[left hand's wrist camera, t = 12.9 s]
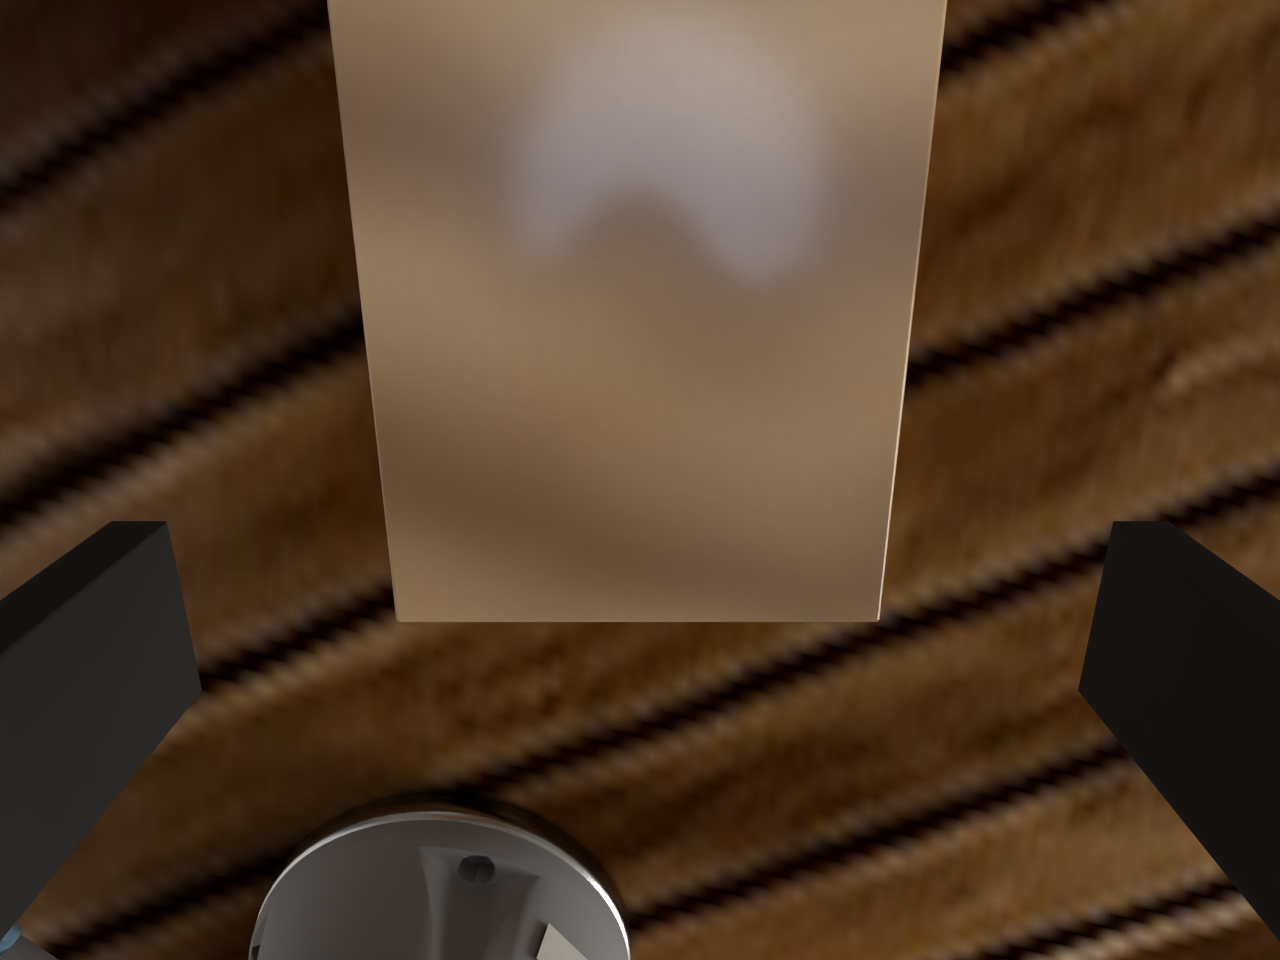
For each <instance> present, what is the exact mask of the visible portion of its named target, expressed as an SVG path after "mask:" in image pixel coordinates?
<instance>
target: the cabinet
mask: <svg viewBox="0 0 1280 960" xmlns="http://www.w3.org/2000/svg"><path fill="white" fill-rule="evenodd" d="M327 4H328V13H329V22H330V31H331V40H332V49H333V58H334V67H335V76H336V85H337V94H338V103H339V112H340V120H341V129H342V138H343V147H344V156H345V165H346V174H347V183H348V192H349V201H350V210H351V219H352V228H353V237H354V245H355V254H356V263H357V272H358V281H359V290H360V299H361V308H362V317H363V326H364V335H365V344H366V353H367V362H368V370H369V379H370V388H371V397H372V406H373V415H374V424H375V433H376V442H377V451H378V460H379V469H380V478H381V487H382V495H383V504H384V513H385V522H386V531H387V540H388V549H389V558H390V567H391V576H392V585H393V594H394V603H395V612H396V619H397V621H399V622H877V621H878V620H879V618H880V610H881V601H882V592H883V582H884V573H885V564H886V555H887V546H888V537H889V528H890V518H891V509H892V500H893V491H894V482H895V473H896V464H897V454H898V445H899V436H900V427H901V418H902V409H903V400H904V391H905V381H906V372H907V363H908V354H909V345H910V336H911V327H912V317H913V308H914V299H915V290H916V281H917V272H918V263H919V253H920V244H921V235H922V226H923V217H924V208H925V199H926V190H927V180H928V171H929V162H930V153H931V144H932V135H933V126H934V116H935V107H936V98H937V89H938V80H939V71H940V62H941V52H942V43H943V34H944V25H945V16H946V7H947V0H327Z"/></svg>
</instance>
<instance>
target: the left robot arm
mask: <svg viewBox="0 0 1280 960" xmlns="http://www.w3.org/2000/svg"><path fill="white" fill-rule="evenodd" d="M201 691H202V689H201V684H200V679H199V674H198V670H197V665H196V660H195V655H194V650H193V646H192V641H191V636H190V631H189V626H188V622H187V617H186V612H185V607H184V603H183V598H182V593H181V588H180V583H179V579H178V574H177V569H176V564H175V559H174V555H173V550H172V545H171V540H170V535H169V531H168V526H167V521H111V522H110V523H108V524H107V525H106V526H104V527H103V528H101V529H100V530H99V531H97V532H96V533H94V534H93V535H92V536H90V537H89V538H87V539H86V540H85V541H83V542H82V543H80V544H79V545H78V546H76V547H75V548H73V549H72V550H71V551H69V552H68V553H66V554H65V555H64V556H62V557H61V558H59V559H58V560H57V561H55V562H54V563H52V564H51V565H50V566H48V567H47V568H45V569H44V570H43V571H41V572H40V573H38V574H37V575H35V576H34V577H33V578H31V579H30V580H28V581H27V582H26V583H24V584H23V585H21V586H20V587H19V588H17V589H16V590H14V591H13V592H12V593H10V594H9V595H7V596H6V597H5V598H3V599H2V600H0V960H58V959H57V958H55V957H54V956H52V955H51V954H49V953H48V952H46V951H45V950H43V949H42V948H40V947H39V946H37V945H35V944H34V943H32V942H31V941H29V940H28V939H26V938H25V937H23V936H22V935H20V934H21V931H22V928H21V927H20V926H19V925H18V924H17V923H16V921H17V920H18V919H19V917H20V916H21V915H22V914H23V912H24V911H25V910H26V909H27V908H28V906H29V905H30V904H31V903H32V901H33V900H34V899H35V898H36V896H37V895H38V894H39V893H40V891H41V890H42V889H43V888H44V886H45V885H46V884H47V883H48V881H49V880H50V879H51V878H52V876H53V875H54V874H55V873H56V871H57V870H58V869H59V868H60V866H61V865H62V864H63V863H64V861H65V860H66V859H67V858H68V856H69V855H70V854H71V853H72V851H73V850H74V849H75V848H76V846H77V845H78V844H79V843H80V841H81V840H82V839H83V838H84V837H85V835H86V834H87V833H88V832H89V830H90V829H91V828H92V827H93V825H94V824H95V823H96V822H97V820H98V819H99V818H100V817H101V815H102V814H103V813H104V812H105V810H106V809H107V808H108V807H109V805H110V804H111V803H112V802H113V800H114V799H115V798H116V797H117V795H118V794H119V793H120V792H121V790H122V789H123V788H124V787H125V785H126V784H127V783H128V782H129V780H130V779H131V778H132V777H133V775H134V774H135V773H136V772H137V771H138V769H139V768H140V767H141V766H142V764H143V763H144V762H145V761H146V759H147V758H148V757H149V756H150V754H151V753H152V752H153V751H154V749H155V748H156V747H157V746H158V744H159V743H160V742H161V741H162V739H163V738H164V737H165V736H166V734H167V733H168V732H169V731H170V729H171V728H172V727H173V726H174V724H175V723H176V722H177V721H178V719H179V718H180V717H181V716H182V714H183V713H184V712H185V711H186V709H187V708H188V707H189V706H190V704H191V703H192V702H193V701H194V700H195V698H196V697H197V696H198V695H199V693H200V692H201ZM1078 691H1079V692H1080V693H1081V695H1082V696H1083V697H1084V698H1085V700H1086V701H1087V702H1088V703H1089V704H1090V706H1091V707H1092V708H1093V709H1094V711H1095V712H1096V713H1097V714H1098V716H1099V717H1100V718H1101V719H1102V721H1103V722H1104V723H1105V724H1106V726H1107V727H1108V728H1109V729H1110V731H1111V732H1112V733H1113V734H1114V736H1115V737H1116V738H1117V739H1118V741H1119V742H1120V743H1121V744H1122V746H1123V747H1124V748H1125V749H1126V751H1127V752H1128V753H1129V754H1130V756H1131V757H1132V758H1133V759H1134V761H1135V762H1136V763H1137V764H1138V766H1139V767H1140V768H1141V769H1142V771H1143V772H1144V773H1145V774H1146V775H1147V777H1148V778H1149V779H1150V780H1151V782H1152V783H1153V784H1154V785H1155V787H1156V788H1157V789H1158V790H1159V792H1160V793H1161V794H1162V795H1163V797H1164V798H1165V799H1166V800H1167V802H1168V803H1169V804H1170V805H1171V807H1172V808H1173V809H1174V810H1175V812H1176V813H1177V814H1178V815H1179V817H1180V818H1181V819H1182V820H1183V822H1184V823H1185V824H1186V825H1187V827H1188V828H1189V829H1190V830H1191V832H1192V833H1193V834H1194V835H1195V837H1196V838H1197V839H1198V840H1199V842H1200V843H1201V844H1202V845H1203V846H1204V848H1205V849H1206V850H1207V851H1208V853H1209V854H1210V855H1211V856H1212V858H1213V859H1214V860H1215V861H1216V863H1217V864H1218V865H1219V866H1220V868H1221V869H1222V870H1223V871H1224V873H1225V874H1226V875H1227V876H1228V878H1229V879H1230V880H1231V881H1232V883H1233V884H1234V885H1235V886H1236V888H1237V889H1238V890H1239V891H1240V893H1241V894H1242V895H1243V896H1244V898H1245V899H1246V900H1247V901H1248V903H1249V904H1250V905H1251V906H1252V908H1253V909H1254V910H1255V911H1256V912H1257V914H1258V915H1259V916H1260V917H1261V919H1262V920H1263V921H1264V922H1265V924H1266V925H1267V926H1268V927H1269V929H1270V930H1271V931H1272V932H1273V934H1274V935H1275V936H1276V937H1277V939H1278V940H1279V941H1280V600H1278V599H1277V598H1275V597H1274V596H1273V595H1271V594H1270V593H1268V592H1267V591H1266V590H1264V589H1263V588H1261V587H1260V586H1259V585H1257V584H1256V583H1254V582H1253V581H1252V580H1250V579H1249V578H1247V577H1246V576H1245V575H1243V574H1242V573H1240V572H1239V571H1237V570H1236V569H1235V568H1233V567H1232V566H1230V565H1229V564H1228V563H1226V562H1225V561H1223V560H1222V559H1221V558H1219V557H1218V556H1216V555H1215V554H1214V553H1212V552H1211V551H1209V550H1208V549H1207V548H1205V547H1204V546H1202V545H1201V544H1200V543H1198V542H1197V541H1195V540H1194V539H1193V538H1191V537H1190V536H1188V535H1187V534H1186V533H1184V532H1183V531H1181V530H1180V529H1179V528H1177V527H1176V526H1174V525H1173V524H1172V523H1170V522H1169V521H1113V526H1112V531H1111V535H1110V540H1109V545H1108V550H1107V555H1106V559H1105V564H1104V569H1103V574H1102V579H1101V583H1100V588H1099V593H1098V598H1097V602H1096V607H1095V612H1094V617H1093V622H1092V626H1091V631H1090V636H1089V641H1088V646H1087V650H1086V655H1085V660H1084V665H1083V670H1082V674H1081V679H1080V684H1079V689H1078ZM248 960H631V933H630V925H629V920H628V915H627V912H626V909H625V905H624V902H623V900H622V898H621V896H620V894H619V891H618V889H617V887H616V886H615V884H614V883H613V881H612V879H611V878H610V876H609V875H608V873H607V872H606V871H605V870H604V868H603V867H602V866H601V864H600V863H599V862H598V861H597V860H596V859H595V858H594V857H593V856H592V855H591V854H590V853H589V852H588V851H587V850H586V849H585V848H584V847H583V846H581V845H580V844H579V843H578V842H577V841H576V840H574V839H573V838H571V837H570V836H569V835H567V834H566V833H564V832H563V831H561V830H560V829H558V828H556V827H555V826H553V825H551V824H550V823H548V822H546V821H544V820H542V819H540V818H538V817H536V816H534V815H531V814H529V813H527V812H524V811H521V810H519V809H516V808H514V807H510V806H507V805H504V804H500V803H497V802H493V801H488V800H483V799H479V798H473V797H465V796H457V795H438V794H434V795H413V796H404V797H397V798H392V799H387V800H382V801H378V802H374V803H371V804H367V805H364V806H361V807H359V808H356V809H354V810H351V811H348V812H346V813H344V814H342V815H340V816H338V817H336V818H334V819H332V820H330V821H329V822H327V823H326V824H324V825H323V826H321V827H319V828H318V829H317V830H315V831H314V832H313V833H312V834H310V835H309V836H308V837H306V838H305V839H304V840H303V841H302V842H301V843H300V844H299V845H298V846H297V847H296V848H295V849H294V850H293V852H292V853H291V854H290V856H289V857H288V858H287V859H286V861H285V862H284V864H283V865H282V867H281V869H280V870H279V872H278V874H277V876H276V878H275V880H274V882H273V884H272V886H271V888H270V890H269V892H268V894H267V896H266V898H265V900H264V902H263V905H262V907H261V909H260V912H259V915H258V919H257V922H256V926H255V929H254V932H253V935H252V939H251V944H250V949H249V959H248Z"/></svg>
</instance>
